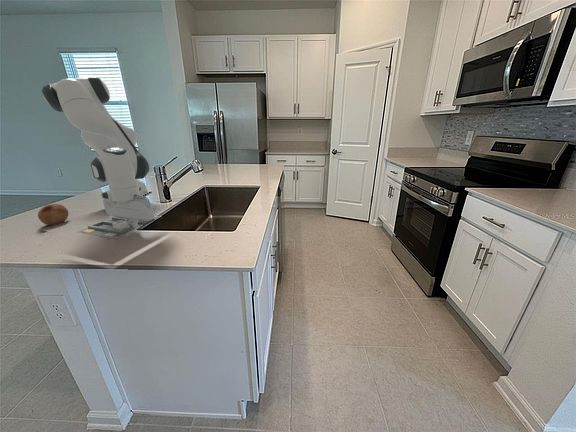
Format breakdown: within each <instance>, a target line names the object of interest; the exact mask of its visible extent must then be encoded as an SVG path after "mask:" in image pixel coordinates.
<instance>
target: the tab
mask: <svg viewBox="0 0 576 432" xmlns="http://www.w3.org/2000/svg"><path fill="white" fill-rule="evenodd" d="M112 225H113V229H116V230H122V229H125V228H127V227H128V224H127V223H126V222H125V221H123V220H120V221H116V222H114V223H112Z"/></svg>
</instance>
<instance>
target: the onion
mask: <svg viewBox="0 0 576 432" xmlns="http://www.w3.org/2000/svg"><path fill="white" fill-rule="evenodd" d="M68 217H69V211H68V209H67V207H66V206H64V205H62V204H60V203H49V204H47V205H44V206H42V207H41V208H40V209H39V210H38V212H37V218H38V219H39V220H40V221H41V223H43V224H44V225H48V226H55V225H59V224H62V223H64V222H66V221H67V219H68ZM40 221H39V222H40Z"/></svg>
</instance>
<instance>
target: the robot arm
mask: <svg viewBox="0 0 576 432" xmlns="http://www.w3.org/2000/svg"><path fill="white" fill-rule="evenodd" d="M41 93H42V96H43V99H44V100H45V102H46V103H47V104H48V105H49V106H50V107H51V108H52V109H53V110H54V111H56V112H59V113H63V114H64V115H65V117H66V119H67V120H68V122H69V123H70V124H71V125H72V126H73V127H74V128H75V129H78V130H80V138H81V140H82V142H83V143H84V144H85V145H86V146H87V147H89V148H91V149H93V150H94V151H95V152H96V153H97V154H98V155H99V156H98V157H95V158H94V159H93V160H92V161H91V162H90V167H91V170H92V171H91V172H92V174H93V177H94V178H95V179H96V180H98V181H100V182H102V183H108V190H106V191H103V192H100V196H101V197H100V198H101V199H102V203H103V207H104V210H105V213H106V214H107V215H108V216H111V217H114V216H116V217H123V218H124V220H125V222H126V223H127V224H128V227H129V228H132V229H133V230H137V229H138V228H139V227H138V222H139V220H142V221H149V220H151V219H153V218H154V217H155V211H154V207H153V205H152V202H151V201H150V199H149V198H148V197H147V196H146V195H148V194H150V193H149V192H151V191H152V189H150V188H147V185H146V183H145V182H144V181H143V180H142V179H144V178H145V177H146V176H147V175H148V174H149V172H150V164H149V162H148V160H147V158H146V157H145V156H144V155H143V154H142V153H141V152H140V151H139V149H137V148H136V144H137V143H138V135H137V132H136V131H135V130H134V129H133V128H131V127H128V126H126V125H124V124H123V123H121V122H119V121H118V120H117V119H115V118H114V117H113V116H112V115H111V114H110V113H109V111H108V109H107V108H106V107H105V105H104V104H106V103H107V102H110V99H111V97H110V90H109V88H108V85H107V84H106V83H105V82H104V81H102V79H101V78H100V77H98V76H96V75H95V76H94V75H87V76H86V77H85V76H82V77H81V76H80V77H79V76H78V77H73V78H71V77H70V78H62V79H60V80H59V81H57V82H54V83H48V84H45V85H44V86H42V88H41ZM141 180H142V181H141ZM147 193H148V194H147ZM151 193H152V192H151ZM145 194H146V195H145ZM143 195H144V196H143ZM132 221H133V222H132Z"/></svg>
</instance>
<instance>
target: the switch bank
mask: <svg viewBox="0 0 576 432" xmlns="http://www.w3.org/2000/svg"><path fill="white" fill-rule="evenodd" d="M162 217H163V216H162V215H155V217H154V218H153V219H151V220H149V221H139V222H138V228H139V227H142V226H143V225H146V224H148V223H150V222H153V221H155V220H157V219H159V218H162ZM120 220H123V221H125V220H124V218H123V217H116V216H111V219H109V220H101V221H98V222H94V223H92V224H89V225H87V227H86V228H84V229H81V230H79V231H77V233H81V234H86V235H90V236H91V235H92V236H97V237H103V238H107V239H115V238H116V237H119V236H121V235H124V234H126V233H128V232H130V231H132V230H134V229H132V228H129V227H127V228H125V229H122V230H116V229H113V225H112V223H114V222H116V221H120ZM132 222H133V221H132Z"/></svg>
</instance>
